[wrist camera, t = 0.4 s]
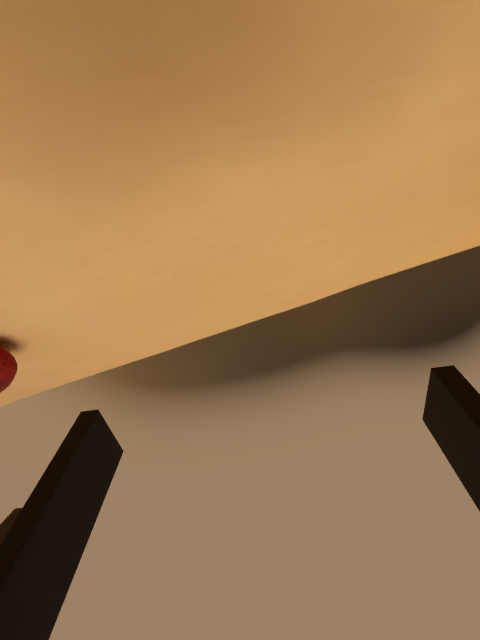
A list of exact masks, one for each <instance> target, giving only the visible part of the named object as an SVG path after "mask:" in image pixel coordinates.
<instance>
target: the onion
mask: <svg viewBox="0 0 480 640" xmlns="http://www.w3.org/2000/svg"><path fill="white" fill-rule="evenodd" d="M16 372H17V362H16V360H15V358H14V357H13V356H12V354H10V353H9V352H8V351H7V350H5V349H4V348H2V347H0V392H2V391H3V390H5V389H6V388H7V387H8V386H9V385H10V384H11V382H12V381H13V379H14V377H15V374H16Z"/></svg>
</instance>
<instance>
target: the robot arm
mask: <svg viewBox="0 0 480 640" xmlns="http://www.w3.org/2000/svg"><path fill="white" fill-rule="evenodd" d="M423 421H424V422H425V424H426V426H427V427H428V429H429V431H430V432H431V434H432V435H433V437H434V439H435V440H436V442H437V443H438V445H439V447H440V448H441V450H442V452H443V453H444V455H445V456H446V458H447V460H448V461H449V463H450V464H451V466H452V468H453V469H454V471H455V472H456V474H457V476H458V477H459V479H460V480H461V482H462V484H463V485H464V487H465V489H466V490H467V492H468V493H469V495H470V497H471V498H472V500H473V501H474V503H475V505H476V506H477V508H478V509H479V511H480V394H479V393H478V392H477V391H476V390H475V389H474V388H473V386H472V385H471V384H470V383H469V382H468V381H467V380H466V379H465V378H464V376H463V375H462V374H461V373H460V372H459V371H458V370H457V369H456V368H455V367H454V366H445V367H437V368H431V373H430V379H429V385H428V391H427V396H426V402H425V408H424V414H423ZM122 454H123V450H122V448H121V446H120V445H119V443H118V441H117V440H116V438H115V436H114V435H113V433H112V432H111V430H110V428H109V427H108V425H107V423H106V422H105V420H104V418H103V417H102V415H101V413H100V412H99V410H92V411H84V412H81V413H80V415H79V416H78V418H77V419H76V421H75V423H74V425H73V426H72V428H71V429H70V431H69V433H68V434H67V436H66V438H65V439H64V441H63V442H62V444H61V446H60V447H59V449H58V451H57V452H56V454H55V456H54V457H53V459H52V461H51V462H50V464H49V465H48V467H47V469H46V470H45V472H44V474H43V475H42V477H41V479H40V480H39V482H38V484H37V485H36V487H35V488H34V490H33V492H32V494H31V495H30V497H29V498H28V500H27V502H26V503H25V505H24V507H23V508H17V509H14V510H13V511H12V513H11V514H10V515H9V516H8V517H7V518H6V519H5V520H4V521H3V522H2V523H1V524H0V640H49V637H50V635H51V632H52V630H53V627H54V625H55V622H56V620H57V617H58V615H59V612H60V610H61V607H62V604H63V602H64V599H65V597H66V594H67V592H68V589H69V587H70V584H71V582H72V579H73V577H74V574H75V572H76V569H77V567H78V564H79V562H80V559H81V557H82V554H83V552H84V549H85V547H86V544H87V542H88V539H89V536H90V534H91V532H92V529H93V527H94V524H95V522H96V519H97V516H98V514H99V511H100V509H101V506H102V504H103V501H104V499H105V496H106V494H107V491H108V489H109V486H110V484H111V481H112V479H113V476H114V473H115V471H116V469H117V466H118V464H119V461H120V458H121V456H122Z"/></svg>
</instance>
